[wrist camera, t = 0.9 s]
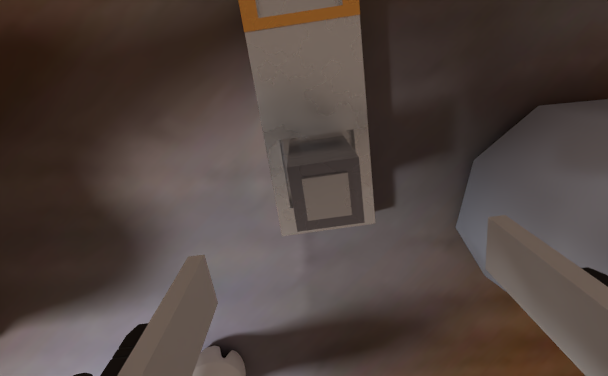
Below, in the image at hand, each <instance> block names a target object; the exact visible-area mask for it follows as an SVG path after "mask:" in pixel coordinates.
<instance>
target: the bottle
mask: <svg viewBox="0 0 608 376" xmlns="http://www.w3.org/2000/svg"><path fill="white" fill-rule="evenodd" d="M501 215H506V216H507V217H509V218H510V219H512V220H513V221H515V222H516V223H517V224H519V225H520V226H522V227H523V228H525V229H526V230H527V231H529V232H530V233H532V234H533V235H535V236H536V237H537V238H539V239H540V240H542V241H543V242H545V243H546V244H547V245H549V246H550V247H552V248H553V249H555V250H556V251H557V252H559V253H560V254H562V255H563V256H565V257H566V258H567V259H569V260H570V261H572V262H573V263H574V264H576V265H577V266H579V267H580V268H585V267H589V268H591V269H594V270H596V271H599V272H601V273H603V274H606V275H608V99H604V100H594V101H583V102H572V103H561V104H551V105H540V106H538V107H536V108H535V109H534V110H533V111H532V112H530V113H529V114H528V115H527V116H526V117H524V118H523V119H522V120H521V121H520V122H518V123H517V124H516V125H515V126H514V127H513V128H511V129H510V130H509V131H508V132H507V133H505V134H504V135H503V136H502V137H501V138H499V139H498V140H497V141H496V142H495V143H493V144H492V145H491V146H490V147H489V148H488V149H486V150H485V151H484V152H483V153H482V154H480V155H479V156H478V157H477V158H476V159H474V161H473V164H472V168H471V172H470V176H469V179H468V183H467V187H466V191H465V194H464V198H463V202H462V206H461V210H460V213H459V217H458V221H457V225H456V229H457V231H458V232H459V234H460V236H461V237H462V239H463V240H464V242H465V244H466V245H467V247H468V249H469V250H470V252H471V254H472V255H473V257H474V259H475V260H476V262H477V264H478V265H479V267H480V269H481V270H482V272H483V274H484V275H485V276H486V277H487V278H489V279H490V280H491V281H493V282H494V283H495V284H497V285H498V286H499V287H501V288H502V289H504V288H503V287H502V286H501V285H500V284H499V283H498V282H497V281H496V280H495V279H494V278H493V276H492V275H491V274H490V273H489V272H488V271H487V270H486V269H485V266H486V247H487V228H488V217H493V216H501ZM504 290H505V289H504ZM505 291H506V290H505ZM506 292H507V291H506Z"/></svg>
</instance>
